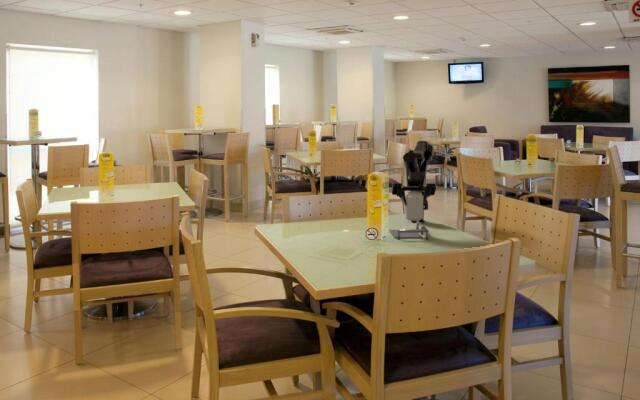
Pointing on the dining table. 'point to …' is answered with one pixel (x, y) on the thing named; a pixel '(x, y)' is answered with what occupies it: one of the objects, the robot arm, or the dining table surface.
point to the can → (414, 206)
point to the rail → (415, 230)
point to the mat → (405, 234)
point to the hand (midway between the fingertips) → (414, 205)
